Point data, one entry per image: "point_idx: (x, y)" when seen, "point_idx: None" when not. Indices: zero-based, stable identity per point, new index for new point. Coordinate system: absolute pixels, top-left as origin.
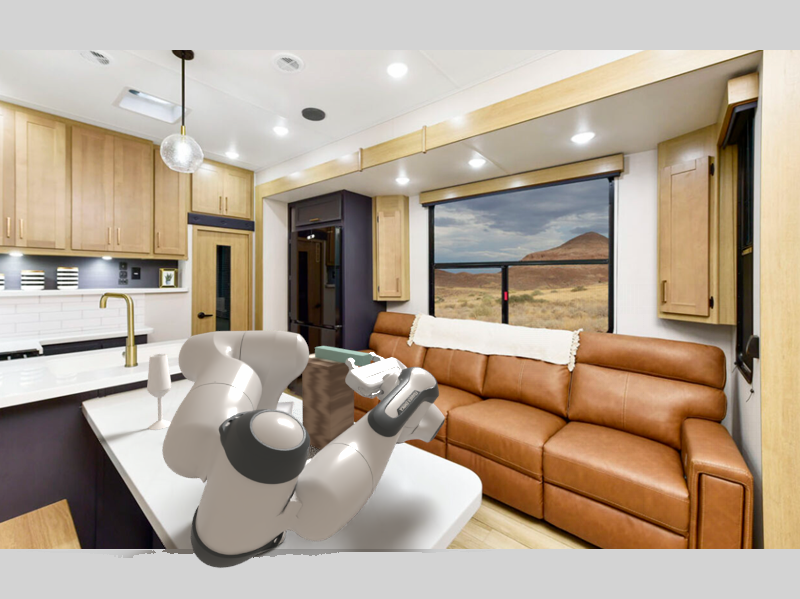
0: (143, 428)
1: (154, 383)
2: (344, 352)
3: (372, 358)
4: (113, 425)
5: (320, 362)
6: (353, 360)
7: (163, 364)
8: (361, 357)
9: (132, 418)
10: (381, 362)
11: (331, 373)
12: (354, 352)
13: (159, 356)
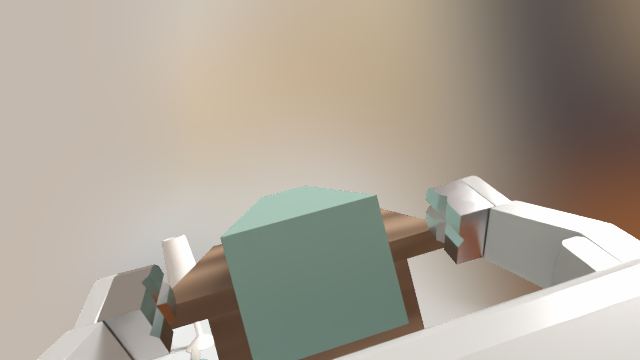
0: (185, 345)
1: (169, 281)
2: (253, 209)
3: (466, 241)
4: (177, 331)
5: (219, 267)
6: (135, 298)
7: (174, 252)
8: (230, 256)
9: (202, 321)
10: (558, 340)
11: (221, 342)
12: (297, 201)
13: (167, 240)
